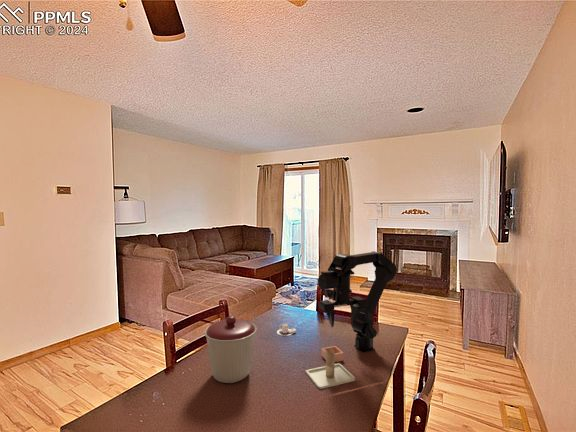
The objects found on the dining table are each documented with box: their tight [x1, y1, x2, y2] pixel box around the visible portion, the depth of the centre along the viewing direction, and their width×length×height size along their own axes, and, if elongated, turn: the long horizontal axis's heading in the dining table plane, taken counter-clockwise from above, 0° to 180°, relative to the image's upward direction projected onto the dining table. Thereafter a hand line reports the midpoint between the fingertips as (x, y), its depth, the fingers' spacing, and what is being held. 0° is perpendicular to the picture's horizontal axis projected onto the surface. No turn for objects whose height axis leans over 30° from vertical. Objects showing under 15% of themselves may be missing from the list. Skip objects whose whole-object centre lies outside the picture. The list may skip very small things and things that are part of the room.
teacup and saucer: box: [276, 322, 297, 337], centre depth 147 cm, size 9×8×4 cm
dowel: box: [325, 349, 336, 379], centre depth 109 cm, size 3×3×9 cm
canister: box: [203, 315, 258, 384], centre depth 110 cm, size 18×18×21 cm
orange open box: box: [321, 345, 344, 363], centre depth 122 cm, size 6×6×4 cm
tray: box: [304, 362, 357, 390], centre depth 109 cm, size 14×11×1 cm
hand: (342, 325), depth 124 cm, fingers open, 9 cm apart
